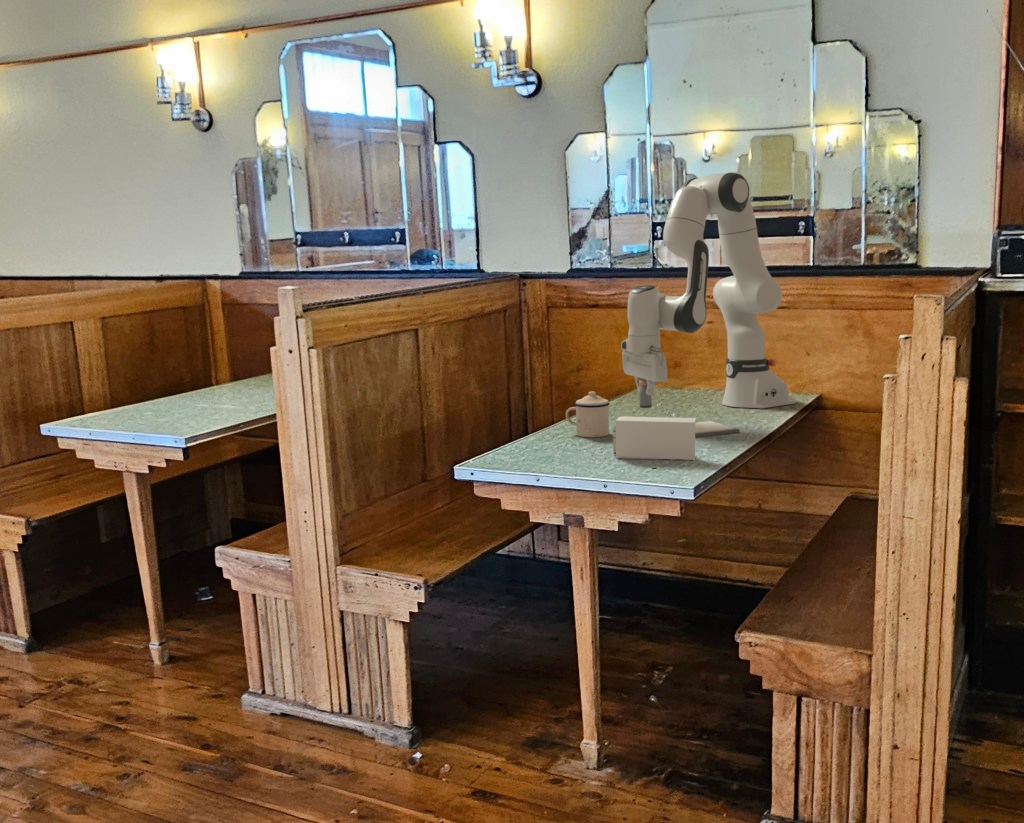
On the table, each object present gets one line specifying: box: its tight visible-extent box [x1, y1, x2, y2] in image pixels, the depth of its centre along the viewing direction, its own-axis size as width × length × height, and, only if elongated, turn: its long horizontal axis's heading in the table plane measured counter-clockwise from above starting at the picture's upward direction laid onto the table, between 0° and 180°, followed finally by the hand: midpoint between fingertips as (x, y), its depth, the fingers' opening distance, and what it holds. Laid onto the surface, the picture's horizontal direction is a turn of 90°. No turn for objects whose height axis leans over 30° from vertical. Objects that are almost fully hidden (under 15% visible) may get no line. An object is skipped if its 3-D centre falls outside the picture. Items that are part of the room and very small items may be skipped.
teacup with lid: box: [565, 391, 610, 439], centre depth 281 cm, size 12×9×12 cm
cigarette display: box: [612, 416, 697, 461], centre depth 251 cm, size 20×6×9 cm, turn 74°
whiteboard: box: [695, 420, 741, 438], centre depth 281 cm, size 25×14×1 cm, turn 110°
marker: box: [638, 379, 653, 409], centre depth 293 cm, size 4×4×8 cm
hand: (645, 394), depth 293 cm, fingers closed on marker, 3 cm apart
